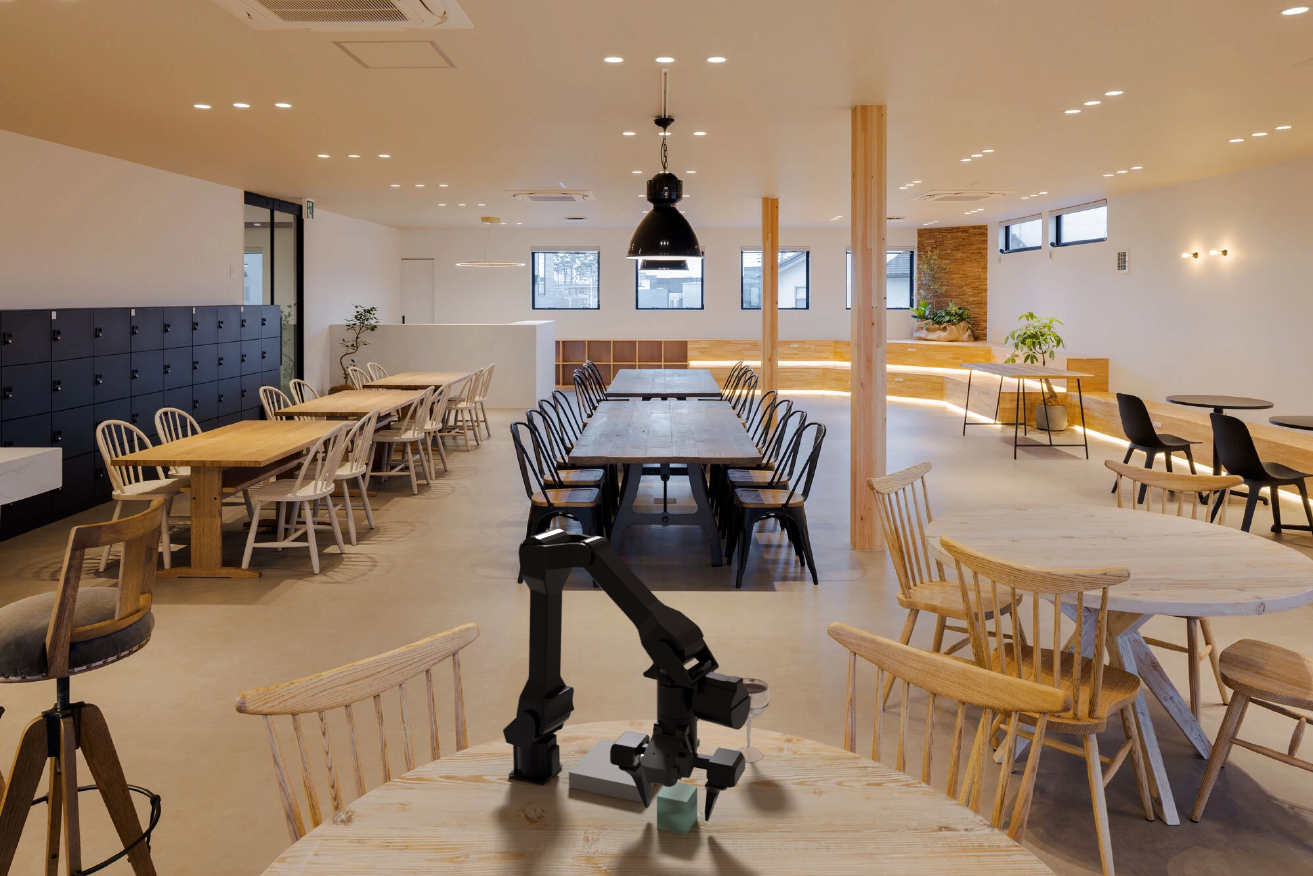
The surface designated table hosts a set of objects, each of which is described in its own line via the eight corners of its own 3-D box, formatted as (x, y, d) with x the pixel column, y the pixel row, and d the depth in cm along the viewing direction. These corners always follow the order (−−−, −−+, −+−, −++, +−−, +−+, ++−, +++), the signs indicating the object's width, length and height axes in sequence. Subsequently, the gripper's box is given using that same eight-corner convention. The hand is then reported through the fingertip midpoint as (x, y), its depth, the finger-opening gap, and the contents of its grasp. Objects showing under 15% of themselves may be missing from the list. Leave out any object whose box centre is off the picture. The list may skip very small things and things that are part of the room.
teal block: (656, 828, 129) (656, 795, 128) (668, 812, 133) (668, 780, 132) (686, 835, 127) (686, 802, 127) (697, 818, 131) (697, 786, 131)
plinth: (569, 787, 140) (568, 772, 140) (602, 751, 151) (601, 737, 151) (640, 802, 135) (640, 787, 135) (669, 765, 146) (669, 750, 146)
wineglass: (722, 760, 148) (723, 690, 146) (734, 741, 154) (735, 675, 152) (762, 768, 145) (763, 697, 144) (773, 749, 152) (774, 681, 150)
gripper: (592, 724, 124) (594, 829, 126) (722, 748, 117) (722, 859, 119) (625, 692, 134) (626, 790, 136) (746, 712, 127) (745, 815, 129)
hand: (677, 813), depth 130 cm, fingers open, 9 cm apart
